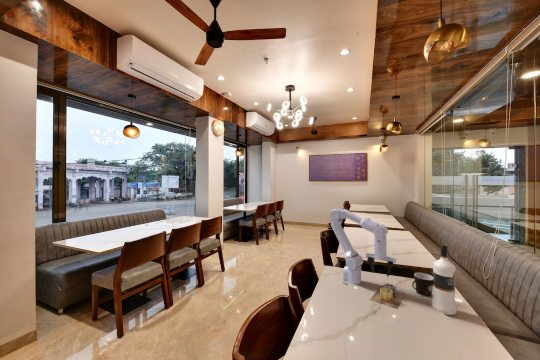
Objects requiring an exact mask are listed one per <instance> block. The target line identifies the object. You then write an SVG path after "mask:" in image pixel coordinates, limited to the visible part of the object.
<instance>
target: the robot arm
mask: <svg viewBox="0 0 540 360" xmlns="http://www.w3.org/2000/svg"><path fill="white" fill-rule="evenodd" d="M328 217H329V218H330V226H331V228H332V231H333V232H334V234H335V236H336V238H337V240H338V242H339V244H340V246H341V248H342V250H343V252H344V259H345V266H344V268H343V271H342V273H343V274H342V275H343V276H342V277H343V279H342V280H343V281H342V284H345V285H349V283H350V284H352V285H361V284H362V265H363V263H364V259H363V257H362V256H361V255H360V254H359V252H358V251H356V250H355V249H354V247H353V245H352V244H351V241H350V239H349V238H348V236H347V234H346V232H345V230H344V229H343V227H342V222H343V221H344V219H348V220H350V221H352V222H355V223H357V224H359V225H360V227H361V228H362V229H364V230H365V231H368V232H370V233H371V234H373V236H374V253H368V252H367V253H365V258H367V259H366V260H367V263H368V264H369V268H370V271H371V273H374V272H375V260H379V261H383V262H386V276H387V277H390V274H391V270H392V268H393V265H394V264H397V259H396V258H393V257H390V256H388V255H387V235H388V233H389V230H388V227H387V226H386V225H384V224H380V223H379V222H375V221H373V220H372V219H371V218H369V217H368V218H367V217H365V218H363V217H360V216H358V215H357V214H354V213H353V212H352V211H349V210H348V209H345V208H344V207H339V208H333V209H332V210H330V212H329V214H328Z"/></svg>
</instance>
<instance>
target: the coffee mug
mask: <svg viewBox="0 0 540 360" xmlns="http://www.w3.org/2000/svg"><path fill="white" fill-rule="evenodd" d="M413 275H414V280H413V282H412V283H411V285H412V288H413V289H414V290H415V292H416V294H417V295H420V296H422V297H427V298H428V297H433V276H432V275H430V274H428V273H424V272H415V273H414V274H413ZM414 285H415V286H414Z"/></svg>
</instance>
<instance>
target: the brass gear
mask: <svg viewBox="0 0 540 360" xmlns="http://www.w3.org/2000/svg"><path fill="white" fill-rule="evenodd" d="M385 290H388V292H386V291H385ZM380 299H381V300H383V301H384V302H388V303H390V302H393V291H392V290H390V289H389V288H380Z"/></svg>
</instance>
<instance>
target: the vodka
mask: <svg viewBox="0 0 540 360" xmlns="http://www.w3.org/2000/svg"><path fill="white" fill-rule="evenodd" d="M448 247H449V246H448V245H445V244H444V245H443V244H441V245H440V259H437V260H435V261H434V262H433V263H432V267H433V268H432V271H433V290H432V299H431V303H430V304H431V307H432V308H433V309H435V310H437V311H438V312H441V313H443V314H444V315H446V316H454V315H456V314H457V311H458V310H457V306H456V299H455V298H456V265H454V263H452V261H450V260H449V259H448V258H449V257H448V256H449V254H448V253H449V251H448Z"/></svg>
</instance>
